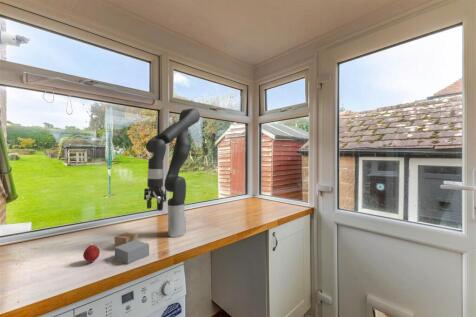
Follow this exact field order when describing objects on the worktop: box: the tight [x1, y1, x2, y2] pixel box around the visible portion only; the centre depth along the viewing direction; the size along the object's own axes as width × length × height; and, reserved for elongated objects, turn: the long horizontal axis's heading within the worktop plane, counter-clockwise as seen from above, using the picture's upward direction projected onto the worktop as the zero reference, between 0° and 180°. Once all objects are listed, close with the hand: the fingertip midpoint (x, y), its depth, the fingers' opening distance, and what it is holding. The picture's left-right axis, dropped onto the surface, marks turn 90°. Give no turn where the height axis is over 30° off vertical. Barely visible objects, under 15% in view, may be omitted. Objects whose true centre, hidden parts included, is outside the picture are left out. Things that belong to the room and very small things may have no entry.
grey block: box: [114, 239, 150, 265], centre depth 99 cm, size 10×10×5 cm
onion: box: [82, 243, 101, 264], centre depth 94 cm, size 6×6×8 cm
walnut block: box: [114, 231, 138, 248], centre depth 110 cm, size 7×7×6 cm
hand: (154, 209), depth 115 cm, fingers open, 8 cm apart
